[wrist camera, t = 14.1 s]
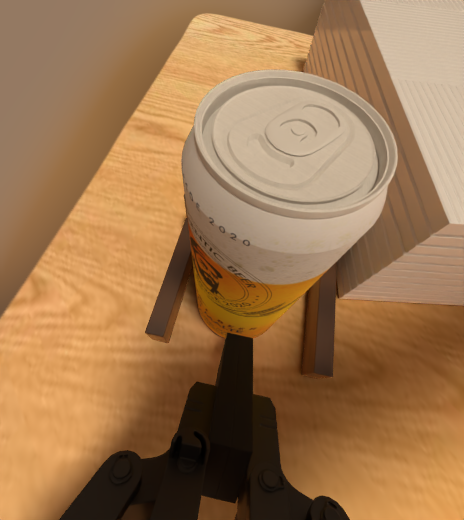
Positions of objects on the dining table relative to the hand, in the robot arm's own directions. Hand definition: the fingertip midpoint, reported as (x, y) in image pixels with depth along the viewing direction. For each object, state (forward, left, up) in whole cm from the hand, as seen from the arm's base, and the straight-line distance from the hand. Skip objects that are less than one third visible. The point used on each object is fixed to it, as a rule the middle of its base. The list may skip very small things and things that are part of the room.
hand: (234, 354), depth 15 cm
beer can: (-4, -2, -3) cm, 5 cm away
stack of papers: (-25, +1, -3) cm, 25 cm away
